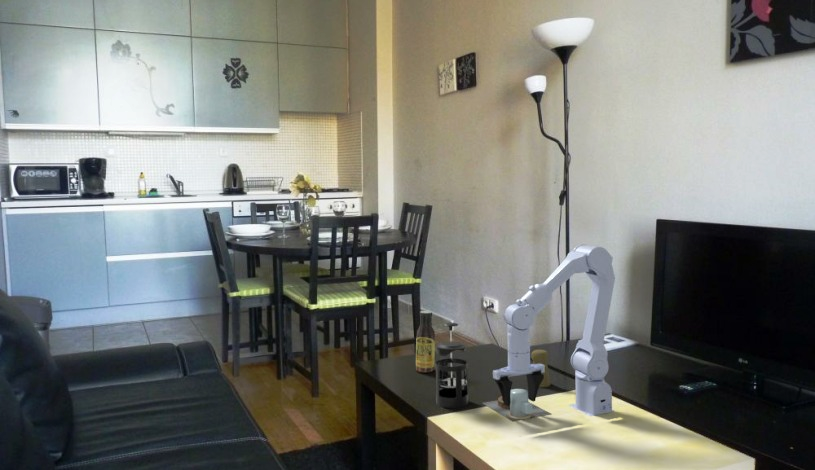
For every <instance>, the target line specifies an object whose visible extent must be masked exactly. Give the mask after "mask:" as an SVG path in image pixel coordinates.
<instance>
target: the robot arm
mask: <svg viewBox="0 0 815 470" xmlns="http://www.w3.org/2000/svg"><path fill="white" fill-rule="evenodd" d="M613 258H614V257H613V256H612V255H611V254H610V252H609V251H608V250H607V249H606V248H604V247H602V246H592V245H587V244H578V245H577V246H575V247H574V248H573V250H572V251H570V252H568V253H567V255H566V257H565V259H564V260H563V261H562V262H561V263H560V265H558V266H557V268H556V269H554V271H553V272H551V274H550V275H549V276H548V278H547V279H546V280H545V281H543V282H542V283H536V284H534V285H530V286H529V287H528V291H527V292H526V293H525V294H524V295H523V296H522V297H520V299H519V298H518V299H517V300H516V301H515V303H514V304H510V305H509V306H508V307H506V309H505V312H504V314H503V315H502V317H503V320H504V322H505V324H506V325H507V330H506V331H507V333H506V334H507V336H506V337H507V338H506V339H507V366H505V367H501V368H499V369H494V370H492V378H493V379H494V381H495V383H496V385H497V386H498V389H499V391H500V394H501V396H502V398H503V402H504V404H505V405H507V406H510V402H511V399H510V393H511V390H512V386H513V381H512V380H510V377H517V376H523V375H525V376H526V382H527V391H528V401H531V402H536V400H537V399H536V398H537V395H538V391H539V388H540V387H539V386H540V384H541V382H542V380H543V379H544V375H543V374H541V373H543V372H545V365H543V364H533V363H531V334H530V331H531V329H530V327H531V326H533V324H534V321H535V317H536V316H537V315H538V314H539V313H540V312H541V311H542V310H543V309H544V308H545V307H546V306H547V305H549V303H550V302H551V301H552V299H553V293H554V292H555V291H557V289H559V288H560V286H562V285H564V283H566V281H568V280H569V279H570V278H571V277H573V275H575V274H582V273H585V274H586V275H587V276H588V278H589V279H590V280H591V282H592V285H591V290H590V296H589V300H588V306H587V312H586V318H585V322H584V327H583V333H582V334H583V335H582V338H581V339H580V340H579V341H578V342H577V343H576V346H575V350H574V351H573V353H572V355H571V357H570V365H571V367H572V368H573V369H574V375H575V378H574V379H575V381H574V382H575V403H572V404H568V406H569V407H571V408H573V409H575V410H578V411H579V412H581V413H583V414H585V415H588V416H590V417H593V416H599V415H604V414H609V413H615V410H614V409H613V389H612V387H611V386H610V384H609V383H607V381H606V380H605V377H606V375H607V374H608V372H609V367H610V366H609V362H608V350H607V349H606V347H605V346H606V345H605V344H604V340H605V337H606V336H605V335H606V330H607V326H608V320H609V313H610V309H611V303H612V297H613V291H614V287H615V286H614V285H615V281H616V280H615V279H616V277H615V276H616V275H615V273H614V268H613V264H612V263H613Z"/></svg>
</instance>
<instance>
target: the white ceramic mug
mask: <svg viewBox="0 0 815 470" xmlns="http://www.w3.org/2000/svg"><path fill="white" fill-rule="evenodd" d="M510 399H511V402H510V415H511V416H513V417H526V416H528V414H531V413H532V404H533V403H532V402H530V401H529V397H528V389H523V388H514V389H512V388H511V393H510ZM531 403H532V404H531Z"/></svg>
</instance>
